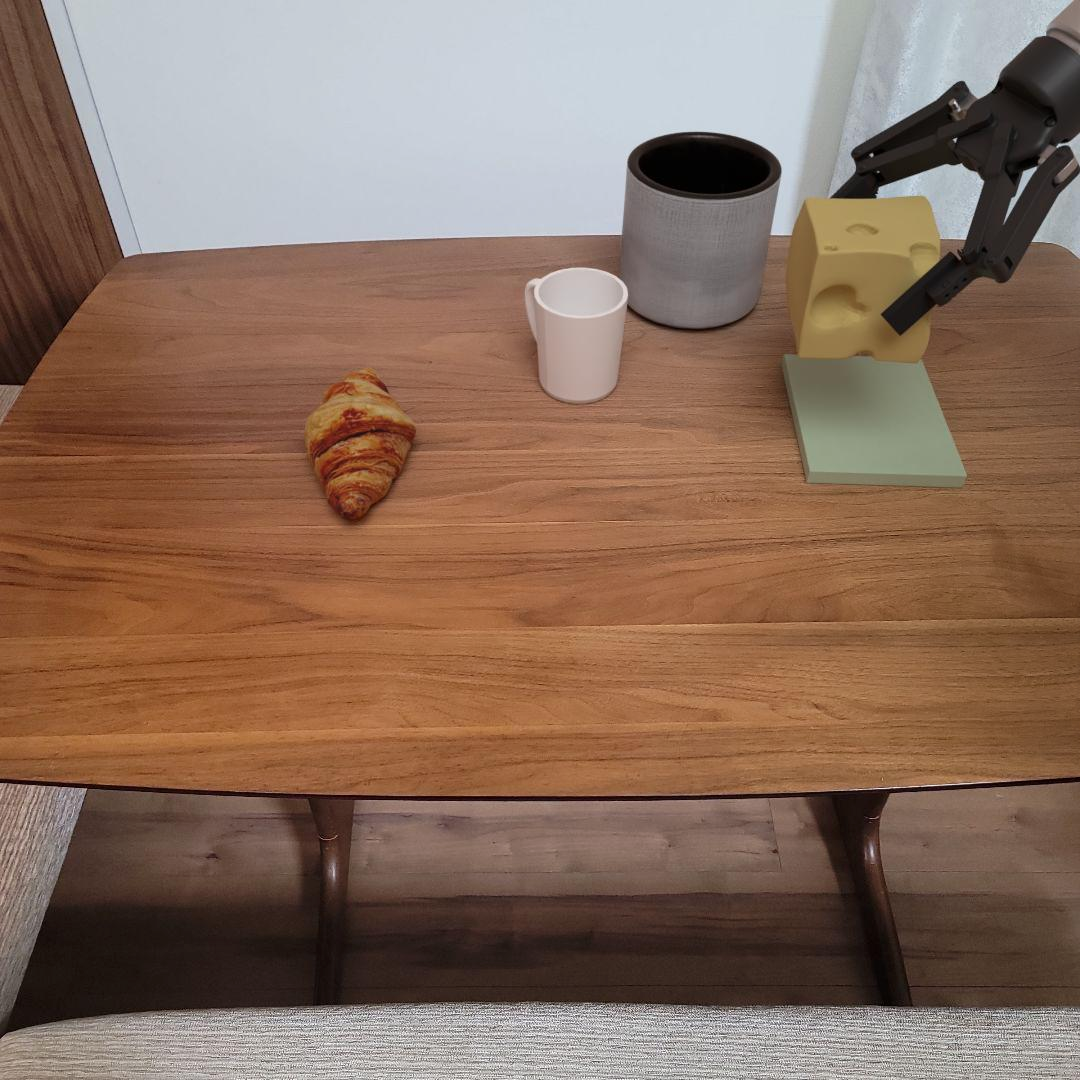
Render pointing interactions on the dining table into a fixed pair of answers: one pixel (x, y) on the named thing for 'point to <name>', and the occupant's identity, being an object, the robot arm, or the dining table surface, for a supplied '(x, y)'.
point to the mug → (577, 332)
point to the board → (870, 423)
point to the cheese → (858, 275)
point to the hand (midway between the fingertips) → (846, 282)
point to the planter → (697, 227)
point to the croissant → (357, 442)
